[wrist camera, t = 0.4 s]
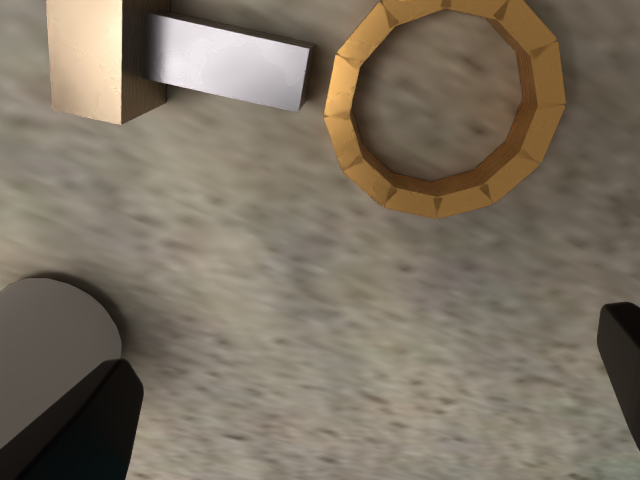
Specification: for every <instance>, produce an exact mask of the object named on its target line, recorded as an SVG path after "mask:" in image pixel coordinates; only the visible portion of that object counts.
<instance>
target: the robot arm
mask: <svg viewBox="0 0 640 480" xmlns="http://www.w3.org/2000/svg"><path fill="white" fill-rule="evenodd" d="M597 345H598V349H599V352H600V355H601V358H602V360H603V363H604V365H605V368H606V371H607V373H608V376H609V378H610V381H611V384H612V386H613V389H614V391H615V394H616V397H617V399H618V402H619V405H620V407H621V410H622V412H623V415H624V418H625V420H626V423H627V425H628V427H629V430H630V432H631V434H632V437H633V439H634V441H635V443H636V445H637V447H638V449H639V451H640V307H638V306H636V305H635V304H633V303H630V302H619V303H609V304H605V305H603V306H602V308H601V311H600V319H599V326H598V334H597ZM143 395H144V390H143V385H142V383H141V381H140V379H139V378H138V376H137V374H136V373H135V371H134V370H133V368H132V366H131V365H130V363H129V362H128V361H127V360H126V359H124V358H118V359H109V360H105V361H103V362H102V363H101V364H99V365H98V366H97V367H96V368H95V369H94V370H92V371H91V372H90V373H89V374H88V375H86V376H85V377H84V378H83V379H82V380H81V381H79V382H78V383H77V384H76V385H75V386H74V387H72V388H71V389H70V390H69V391H68V392H67V393H65V394H64V395H63V396H62V397H61V398H59V399H58V400H57V401H56V402H55V403H54V404H52V405H51V406H50V407H49V408H48V409H47V410H45V411H44V412H43V413H42V414H41V415H40V416H38V417H37V418H36V419H35V420H34V421H32V422H31V423H30V424H29V425H28V426H27V427H25V428H24V429H23V430H22V431H21V432H20V433H18V434H17V435H16V436H15V437H14V438H13V439H11V440H10V441H9V442H8V443H7V444H6V445H4V446H3V447H2V448H1V449H0V480H125V478H126V474H127V471H128V467H129V463H130V459H131V454H132V450H133V445H134V440H135V435H136V430H137V425H138V420H139V415H140V411H141V406H142V401H143Z"/></svg>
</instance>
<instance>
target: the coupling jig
mask: <svg viewBox="0 0 640 480" xmlns="http://www.w3.org/2000/svg"><path fill="white" fill-rule="evenodd" d="M381 2H382V4H381V3H380V2H378V3H377V4H376V6H375V7H374V8H373V9H372V10H371V12H370V13H369V14H368V15H367V16H366V17H365V19H364V20H363V21H362V22H361V23H360V25H359V26H358V27H357V28H356V29H355V31H354V32H353V33H352V34H351V35H350V37H349V38H348V39H347V40H346V41H345V43H344V44H343V45H342V46H341V47H340V49H339V50H338V52H337V54H336V56H335V61H334V66H333V71H332V76H331V81H330V86H329V91H328V96H327V101H326V106H325V111H324V115H325V116H324V119H325V122H326V125H327V128H328V131H329V134H330V137H331V140H332V143H333V146H334V149H335V152H336V155H337V159H338V162H339V165H340V168H341V170H343V173H344V174H345V175H347V176H348V177H349V178H350V179H351V180H352V181H353V182H355V183H356V184H357V185H358V186H359V187H360V188H361V189H362V190H364V191H365V192H366V193H367V194H368V195H369V196H370V197H371V198H373V199H374V200H375V201H376V202H377V203H378V204H379V205H380V206H383V205H384V208H387V209H392V210H396V211H401V212H406V213H410V214H415V215H419V216H424V217H428V218H433V219H436V216H437V217H438V219H440V218H444V217H448V216H452V215H455V214H459V213H463V212H467V211H471V210H475V209H478V208H482V207H486V206H490V205H492V202H493V203H494V204H495V203H496V202H497V201H498V200H499V199H501V198H502V197H503V196H504V195H505V194H507V193H508V192H509V191H510V190H511V189H512V188H514V187H515V186H516V185H517V184H518V183H519V182H521V181H522V180H523V179H524V178H525V177H526V176H528V175H529V174H530V173H531V172H532V171H534V170H535V169H536V168H537V167H538V166H539V164H538V163H537V162H540V163H542V161H543V158H544V156H545V154H546V151H547V149H548V146H549V144H550V142H551V139H552V137H553V135H554V132H555V130H556V128H557V125H558V123H559V120H560V118H561V116H562V113H563V111H564V109H565V105H563V104H565V103H566V99H565V90H564V82H563V74H562V66H561V58H560V50H559V42H558V41H555V40H556V39H557V38H556V37H555V36H554V34H553V33H552V32H551V31H550V30H549V29H548V28H547V27H546V25H545V24H544V23H543V22H542V21H541V20H540V19H539V18H538V16H537V15H536V14H535V13H534V12H533V11H532V10H531V9H530V7H529V6H528V5H527V4H526V3H525V2H524V1H523V0H381ZM46 7H47V25H48V43H49V61H50V79H51V97H52V110H56V111H60V112H65V113H69V114H74V115H78V116H83V117H87V118H92V119H96V120H101V121H106V122H110V123H115V124H119V125H122V124H124V123H126V122H128V121H130V120H132V119H134V118H136V117H138V116H140V115H142V114H144V113H146V112H148V111H151V110H153V109H155V108H157V107H159V106H161V105H163V104H165V103H166V88H167V84H171V85H175V86H180V87H184V88H189V89H193V90H198V91H202V92H207V93H212V94H216V95H221V96H225V97H230V98H234V99H239V100H243V101H248V102H252V103H257V104H261V105H266V106H270V107H275V108H279V109H284V110H289V111H293V112H299V110H300V109H301V107H302V106H303V104H304V103H305V100H306V95H307V89H308V84H309V78H310V73H311V67H312V62H313V56H314V50H315V45H316V44H313V43H308V42H304V41H299V40H295V39H290V38H286V37H281V36H277V35H272V34H268V33H263V32H259V31H254V30H250V29H245V28H241V27H236V26H232V25H227V24H223V23H218V22H214V21H209V20H205V19H200V18H196V17H191V16H187V15H182V14H178V13H173V12H170V9H171V0H46ZM442 9H446V10H451V11H455V12H460V13H464V14H469V15H473V16H478V17H482V18H485V19H486V20H487V21H488V22H489V23H490V24H491V25H492V26H493V27H494V29H495V30H496V31H497V32H498V33H499V34H500V35H501V36H502V37H503V38H504V39H505V40H506V42H507V43H508V44H509V45H510V46H511V47H512V48H513V49H514V50H515V51H516V56H517V62H518V68H519V75H520V81H521V87H522V94H523V98H522V101H521V104H520V106H519V109H518V111H517V114H516V117H515V119H514V122H513V125H512V127H511V130H510V132H509V135H508V138H507V140H506V141H505V142H504V143H503V144H502V145H501V146H499V147H498V148H497V149H496V150H495V151H494V152H493V153H492V154H491V155H489V156H488V157H487V158H486V159H485V160H484V161H483V162H482V163H481V164H480V165H478V166H477V167H476V168H475V169H474V170H472V171H468V172H465V173H461V174H457V175H454V176H450V177H447V178H443V179H440V180H436V181H428V180H423V179H419V178H414V177H409V176H405V175H400V174H396V173H392V172H391V171H390V170H389V169H388V168H387V167H386V166H385V165H384V164H383V163H381V162H380V161H379V160H378V159H377V158H376V157H375V156H374V155H373V154H372V153H370V152H369V151H368V150H367V149H366V148H365V147H364V146H363V144H362V140H361V137H360V134H359V131H358V127H357V124H356V121H355V117H354V114H353V111H352V107H351V105H352V100H353V96H354V91H355V87H356V82H357V78H358V73H359V69H360V66H361V65H362V64H363V63H364V61H365V60H366V59H367V58H368V57H369V56H370V55H371V53H372V52H373V51H374V50H375V49H376V48H377V47H378V45H379V44H380V43H381V42H382V41H383V40H384V39H385V37H386V36H387V35H388V34H389V33H390V32H391V31H392V29H393V28H394V27H395V26H398V25H400V24H403V23H406V22H409V21H412V20H414V19H417V18H420V17H423V16H426V15H428V14H431V13H434V12H437V11H440V10H442Z"/></svg>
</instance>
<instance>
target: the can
mask: <svg viewBox="0 0 640 480" xmlns="http://www.w3.org/2000/svg"><path fill="white" fill-rule="evenodd" d="M121 348H122V342H121V339H120V336H119V332H118V329H117V326H116V325H115V323H114V322H113V320H112V319H111V317H110V316H109V314H108V313H107V311H106V310H105V308H104V307H103V306H102V305H101V304H100V303H99V302H98V301H97V300H95V299H94V298H93V297H92V296H91V295H89V294H88V293H86V292H84V291H82V290H80V289H78V288H77V287H74V286H72V285H70V284H67V283H63V282H60V281H56V280H52V279H48V278H26V279H23V280H20V281H17V282H15V283H12V284H9V285H8V286H7V287H6V288H4V289H3V290H2V291H0V449H1V448H2V447H3V446H4V445H6V444H7V443H8V442H9V441H10V440H11V439H13V438H14V437H15V436H16V435H17V434H18V433H20V432H21V431H22V430H23V429H24V428H25V427H27V426H28V425H29V424H30V423H31V422H32V421H34V420H35V419H36V418H37V417H38V416H40V415H41V414H42V413H43V412H44V411H45V410H47V409H48V408H49V407H50V406H51V405H52V404H54V403H55V402H56V401H57V400H58V399H59V398H61V397H62V396H63V395H64V394H65V393H67V392H68V391H69V390H70V389H71V388H72V387H74V386H75V385H76V384H77V383H78V382H79V381H81V380H82V379H83V378H84V377H85V376H86V375H88V374H89V373H90V372H91V371H92V370H94V369H95V368H96V367H97V366H98V365H99V364H101V363H102V362H103V361H105V360H109V359H118V358H121Z"/></svg>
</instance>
